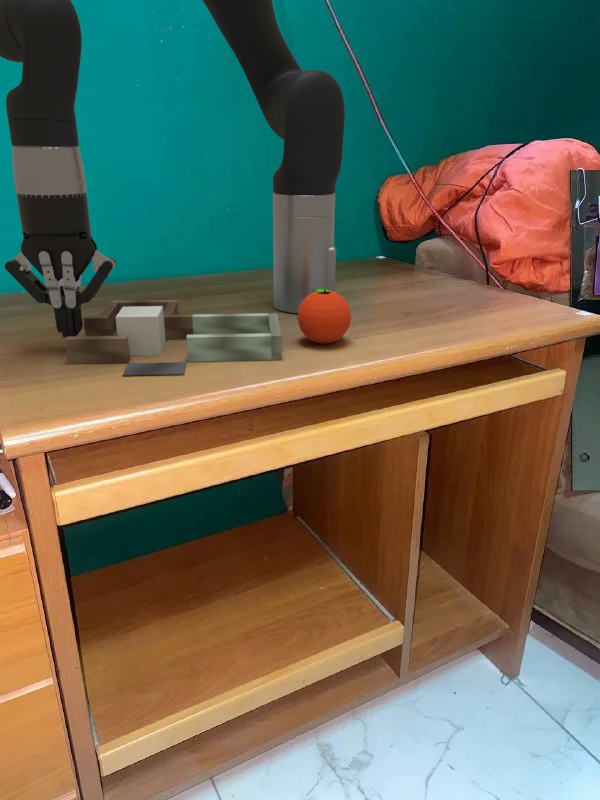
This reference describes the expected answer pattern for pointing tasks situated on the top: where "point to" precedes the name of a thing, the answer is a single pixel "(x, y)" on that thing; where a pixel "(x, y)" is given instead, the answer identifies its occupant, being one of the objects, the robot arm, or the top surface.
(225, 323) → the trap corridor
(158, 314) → the cream block
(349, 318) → the clementine
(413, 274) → the top surface
